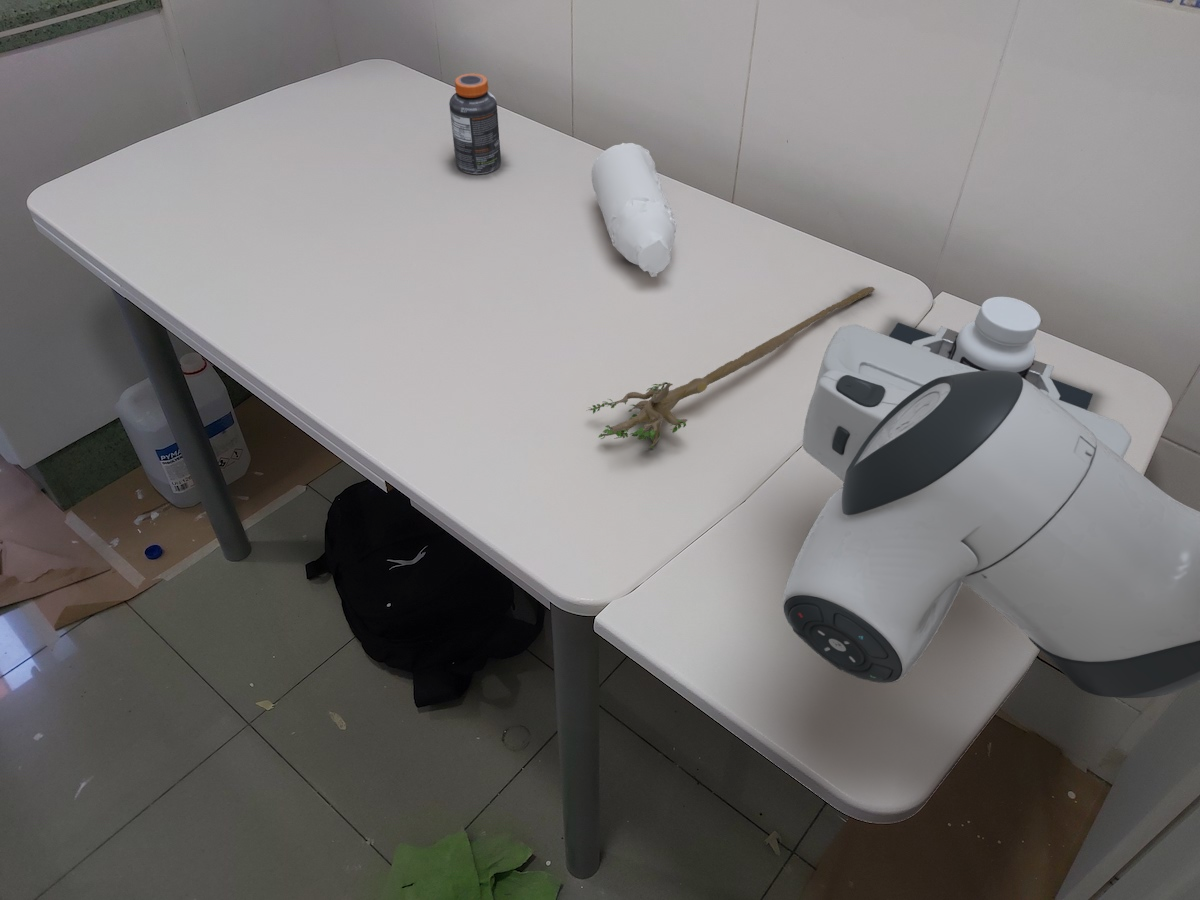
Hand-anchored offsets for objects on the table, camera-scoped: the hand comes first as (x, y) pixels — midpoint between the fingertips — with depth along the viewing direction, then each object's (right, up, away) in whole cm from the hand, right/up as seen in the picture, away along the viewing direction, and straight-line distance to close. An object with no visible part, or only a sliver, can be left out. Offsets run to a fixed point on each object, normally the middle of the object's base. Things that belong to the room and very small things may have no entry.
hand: (992, 352), depth 65 cm
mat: (+8, -2, +22) cm, 23 cm away
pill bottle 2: (-1, -5, +4) cm, 6 cm away
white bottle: (-24, +18, +40) cm, 50 cm away
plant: (-13, 0, +24) cm, 27 cm away
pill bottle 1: (-45, +30, +52) cm, 75 cm away
